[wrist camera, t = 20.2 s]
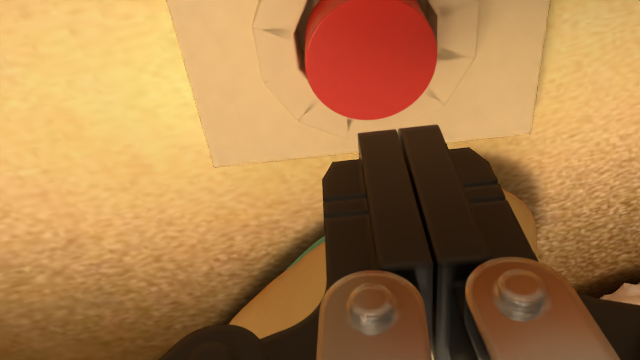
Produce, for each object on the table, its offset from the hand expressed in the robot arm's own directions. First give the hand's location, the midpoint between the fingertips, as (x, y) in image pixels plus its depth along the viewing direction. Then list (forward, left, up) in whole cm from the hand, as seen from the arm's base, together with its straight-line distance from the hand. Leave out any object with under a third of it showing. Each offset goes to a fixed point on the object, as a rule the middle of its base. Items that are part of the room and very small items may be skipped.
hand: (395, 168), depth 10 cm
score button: (0, 0, -7) cm, 7 cm away
